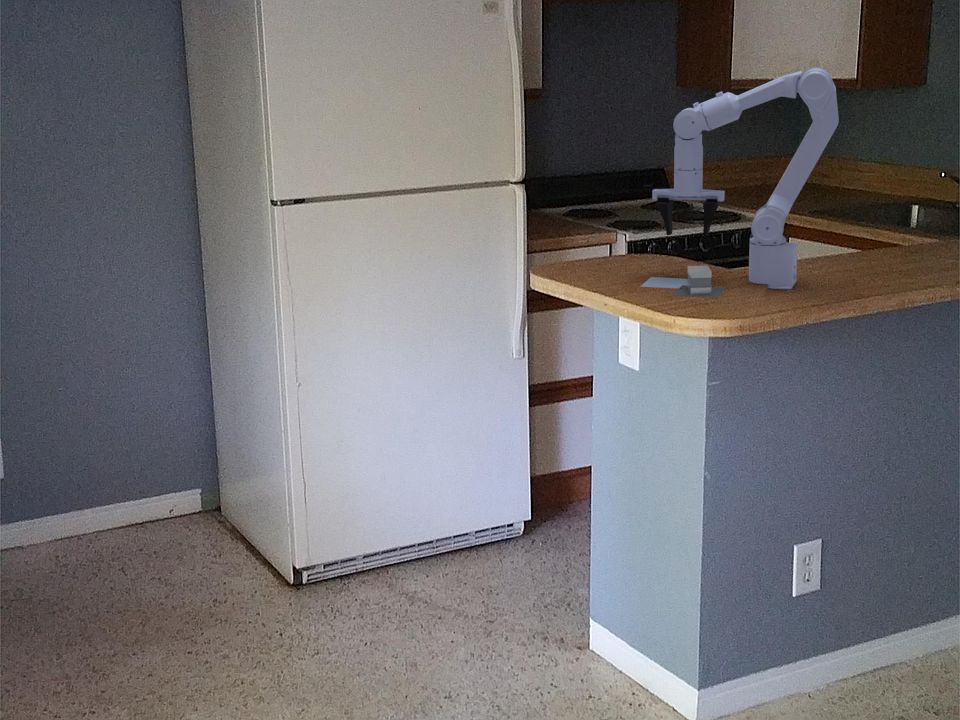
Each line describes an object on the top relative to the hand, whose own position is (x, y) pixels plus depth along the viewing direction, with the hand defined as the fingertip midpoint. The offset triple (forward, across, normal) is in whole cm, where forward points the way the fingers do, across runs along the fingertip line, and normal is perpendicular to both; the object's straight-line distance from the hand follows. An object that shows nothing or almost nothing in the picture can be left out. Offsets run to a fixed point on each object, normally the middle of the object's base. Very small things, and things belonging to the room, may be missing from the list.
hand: (687, 235), depth 248 cm
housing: (+9, -5, +11) cm, 15 cm away
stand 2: (+10, -5, +11) cm, 16 cm away
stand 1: (+10, +3, +5) cm, 11 cm away
